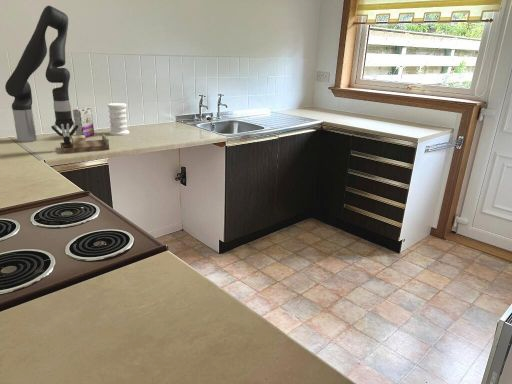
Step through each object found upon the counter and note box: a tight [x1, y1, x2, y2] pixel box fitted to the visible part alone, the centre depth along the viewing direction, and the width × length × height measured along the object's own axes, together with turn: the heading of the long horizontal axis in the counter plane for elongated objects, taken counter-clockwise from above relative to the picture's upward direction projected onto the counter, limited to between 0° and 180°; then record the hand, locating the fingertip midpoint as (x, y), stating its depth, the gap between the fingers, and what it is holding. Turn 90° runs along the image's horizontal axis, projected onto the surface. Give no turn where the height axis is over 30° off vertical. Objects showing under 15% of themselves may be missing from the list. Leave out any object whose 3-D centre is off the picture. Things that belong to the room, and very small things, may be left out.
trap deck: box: [59, 133, 110, 154], centre depth 204 cm, size 22×14×6 cm, turn 120°
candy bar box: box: [72, 106, 95, 139], centre depth 228 cm, size 11×5×16 cm, turn 168°
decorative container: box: [107, 102, 130, 136], centre depth 239 cm, size 12×12×18 cm
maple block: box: [71, 135, 87, 146], centre depth 202 cm, size 6×6×4 cm
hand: (67, 143), depth 200 cm, fingers closed
